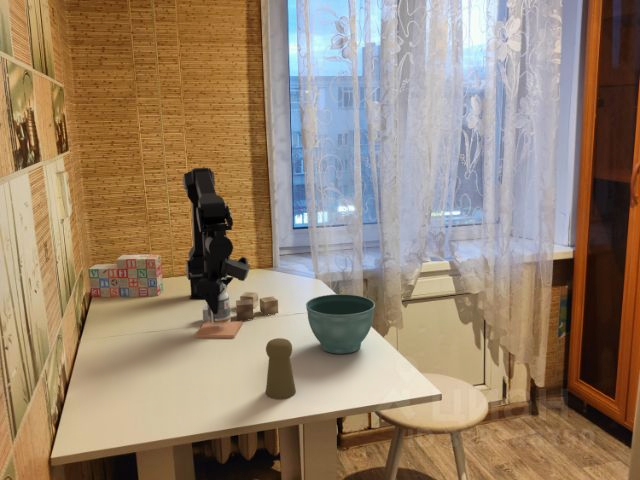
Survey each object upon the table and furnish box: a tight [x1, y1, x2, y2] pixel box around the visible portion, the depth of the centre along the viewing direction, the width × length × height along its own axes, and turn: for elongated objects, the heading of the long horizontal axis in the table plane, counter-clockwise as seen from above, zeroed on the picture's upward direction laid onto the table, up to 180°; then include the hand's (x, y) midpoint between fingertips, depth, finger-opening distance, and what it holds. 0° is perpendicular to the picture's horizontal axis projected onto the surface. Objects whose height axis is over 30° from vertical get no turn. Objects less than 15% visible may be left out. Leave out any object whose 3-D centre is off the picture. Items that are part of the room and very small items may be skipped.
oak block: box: [259, 296, 279, 316], centre depth 166 cm, size 4×4×4 cm
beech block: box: [239, 291, 260, 310], centre depth 171 cm, size 4×4×4 cm
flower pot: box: [305, 293, 376, 355], centre depth 139 cm, size 16×16×11 cm
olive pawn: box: [265, 337, 297, 400], centre depth 117 cm, size 6×6×11 cm
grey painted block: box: [202, 304, 208, 325], centre depth 160 cm, size 4×4×4 cm
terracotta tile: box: [194, 320, 243, 339], centre depth 153 cm, size 10×10×1 cm
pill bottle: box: [206, 284, 231, 326], centre depth 151 cm, size 6×6×10 cm
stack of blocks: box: [88, 253, 164, 298], centre depth 186 cm, size 21×6×12 cm, turn 89°
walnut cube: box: [235, 299, 255, 322], centre depth 162 cm, size 4×4×4 cm
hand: (218, 309), depth 152 cm, fingers closed on pill bottle, 6 cm apart
